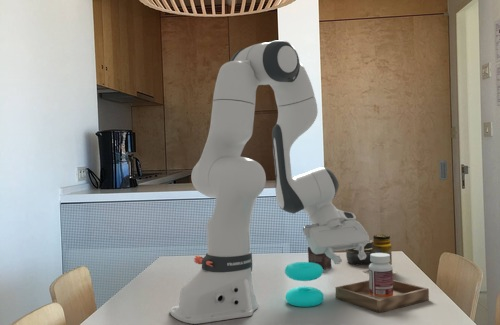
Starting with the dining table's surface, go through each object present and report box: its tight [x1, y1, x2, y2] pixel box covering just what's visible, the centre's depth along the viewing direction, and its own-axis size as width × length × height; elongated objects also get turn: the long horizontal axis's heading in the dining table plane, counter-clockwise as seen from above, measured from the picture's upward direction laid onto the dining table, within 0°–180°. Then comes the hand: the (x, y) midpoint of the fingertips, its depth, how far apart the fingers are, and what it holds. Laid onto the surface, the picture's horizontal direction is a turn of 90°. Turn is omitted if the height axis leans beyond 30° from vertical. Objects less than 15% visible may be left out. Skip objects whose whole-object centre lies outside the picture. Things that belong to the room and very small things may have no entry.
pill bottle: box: [368, 253, 394, 299], centre depth 140 cm, size 6×6×11 cm
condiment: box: [363, 233, 398, 275], centre depth 170 cm, size 7×8×12 cm
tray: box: [335, 279, 430, 314], centre depth 140 cm, size 18×16×3 cm
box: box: [307, 246, 332, 270], centre depth 180 cm, size 6×6×7 cm
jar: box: [345, 239, 373, 266], centre depth 186 cm, size 10×10×8 cm
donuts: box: [284, 261, 325, 308], centre depth 139 cm, size 10×10×10 cm
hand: (351, 260), depth 149 cm, fingers open, 8 cm apart
